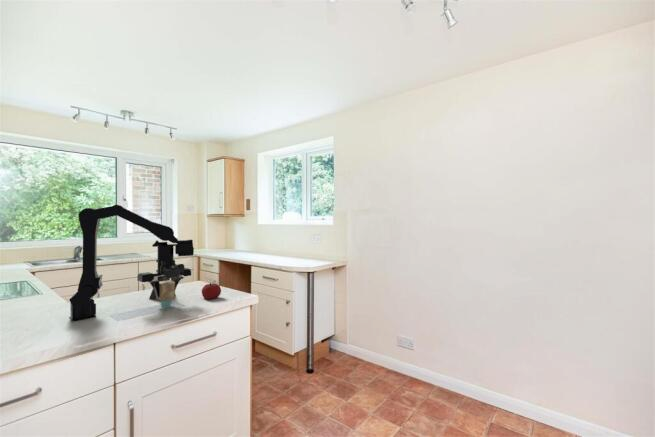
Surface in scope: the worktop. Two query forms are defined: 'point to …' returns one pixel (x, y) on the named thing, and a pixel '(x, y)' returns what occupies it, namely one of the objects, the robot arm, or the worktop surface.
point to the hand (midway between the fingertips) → (165, 295)
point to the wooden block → (166, 290)
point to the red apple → (211, 291)
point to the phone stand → (153, 294)
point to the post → (165, 303)
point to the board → (144, 311)
